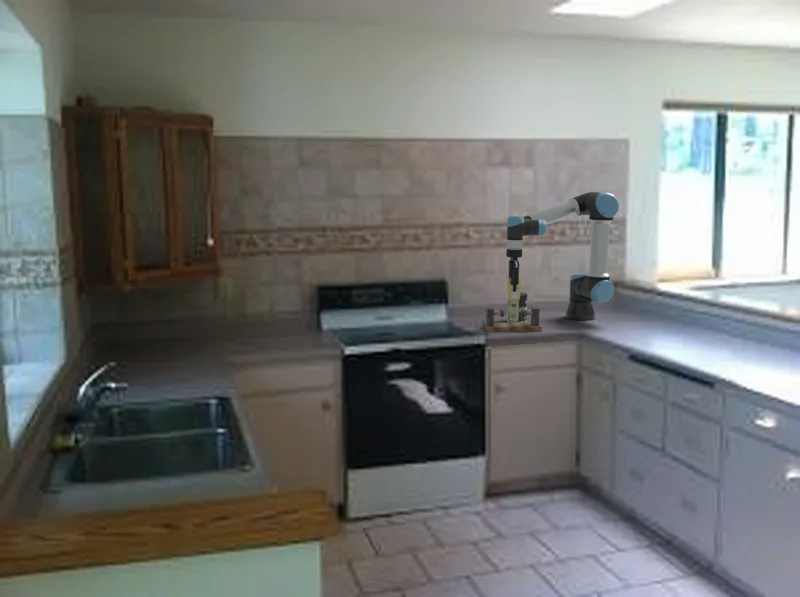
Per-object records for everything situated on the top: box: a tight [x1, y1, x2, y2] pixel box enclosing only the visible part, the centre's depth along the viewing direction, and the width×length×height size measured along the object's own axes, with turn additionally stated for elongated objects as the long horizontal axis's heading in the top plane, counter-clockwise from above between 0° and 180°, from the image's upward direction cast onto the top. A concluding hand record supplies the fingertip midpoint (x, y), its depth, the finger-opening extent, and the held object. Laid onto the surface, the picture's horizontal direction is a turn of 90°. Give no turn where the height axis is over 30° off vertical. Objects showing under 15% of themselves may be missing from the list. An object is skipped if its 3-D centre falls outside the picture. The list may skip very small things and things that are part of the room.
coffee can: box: [506, 291, 529, 323], centre depth 403 cm, size 10×10×14 cm
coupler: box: [505, 276, 522, 300], centre depth 382 cm, size 6×4×10 cm
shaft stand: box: [483, 307, 543, 333], centre depth 384 cm, size 26×11×10 cm, turn 93°
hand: (512, 297), depth 383 cm, fingers closed on coupler, 4 cm apart
